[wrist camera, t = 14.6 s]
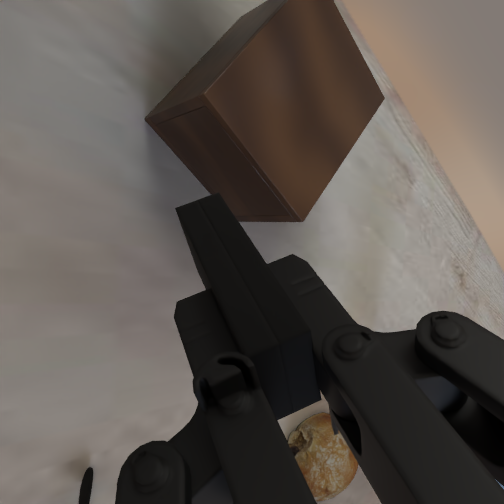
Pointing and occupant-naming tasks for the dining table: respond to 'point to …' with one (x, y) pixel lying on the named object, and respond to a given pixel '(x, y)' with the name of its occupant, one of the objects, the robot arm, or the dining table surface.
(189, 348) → the robot arm
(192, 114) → the chest
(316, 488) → the bread roll
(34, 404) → the dining table surface
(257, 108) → the brown flat panel
